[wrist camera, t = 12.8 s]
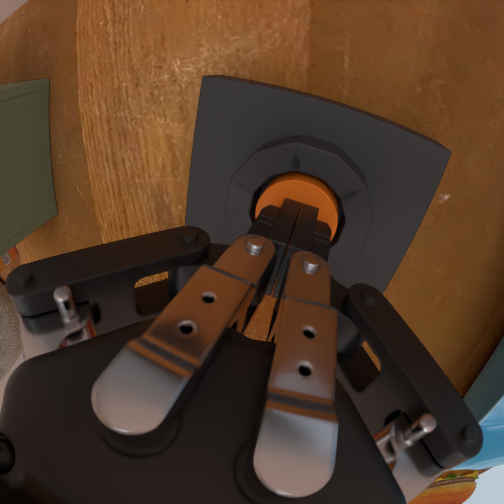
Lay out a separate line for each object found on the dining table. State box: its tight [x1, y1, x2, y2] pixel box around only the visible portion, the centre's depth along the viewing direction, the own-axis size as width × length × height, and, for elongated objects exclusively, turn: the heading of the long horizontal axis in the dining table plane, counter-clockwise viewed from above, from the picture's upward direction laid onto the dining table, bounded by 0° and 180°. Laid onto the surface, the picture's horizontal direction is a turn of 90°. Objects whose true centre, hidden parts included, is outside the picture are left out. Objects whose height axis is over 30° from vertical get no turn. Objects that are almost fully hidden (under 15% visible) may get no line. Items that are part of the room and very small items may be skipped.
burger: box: [408, 469, 478, 504], centre depth 27 cm, size 13×14×10 cm
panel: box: [185, 75, 451, 294], centre depth 15 cm, size 12×10×4 cm
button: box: [255, 171, 339, 252], centre depth 13 cm, size 4×4×2 cm
